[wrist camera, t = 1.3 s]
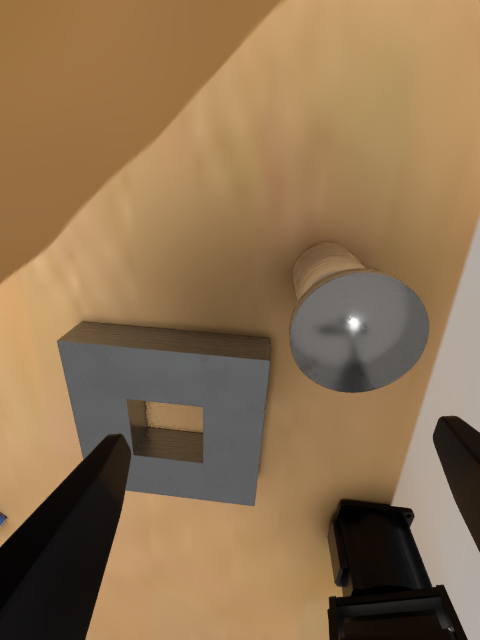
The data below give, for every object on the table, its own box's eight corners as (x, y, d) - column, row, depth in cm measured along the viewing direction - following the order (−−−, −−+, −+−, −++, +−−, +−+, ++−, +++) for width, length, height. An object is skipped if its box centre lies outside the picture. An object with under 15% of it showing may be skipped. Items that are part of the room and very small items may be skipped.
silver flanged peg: (375, 235, 19) (448, 279, 11) (357, 314, 21) (407, 398, 13) (288, 229, 19) (298, 268, 11) (279, 307, 22) (283, 386, 14)
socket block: (270, 338, 23) (270, 360, 20) (256, 474, 29) (254, 506, 26) (81, 321, 23) (56, 340, 21) (106, 457, 29) (89, 485, 27)
